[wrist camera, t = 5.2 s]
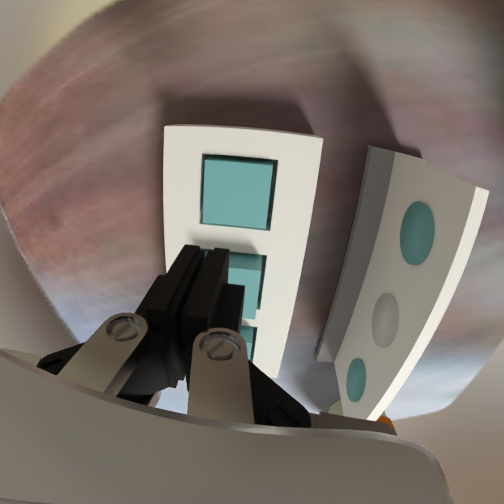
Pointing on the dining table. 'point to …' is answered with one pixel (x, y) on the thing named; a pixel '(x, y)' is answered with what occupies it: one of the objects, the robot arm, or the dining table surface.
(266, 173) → the button
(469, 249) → the pattern sign
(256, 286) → the button
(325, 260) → the dining table surface
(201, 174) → the button board
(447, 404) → the dining table surface
